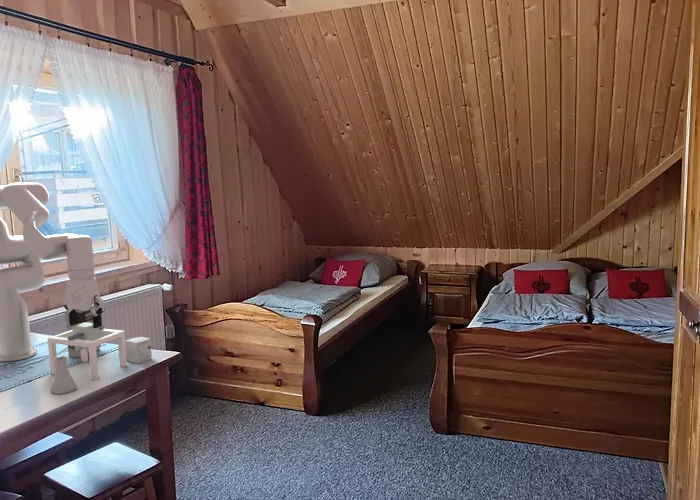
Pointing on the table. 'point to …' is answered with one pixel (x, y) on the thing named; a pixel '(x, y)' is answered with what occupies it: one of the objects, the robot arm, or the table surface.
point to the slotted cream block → (86, 334)
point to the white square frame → (90, 344)
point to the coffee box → (83, 317)
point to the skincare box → (138, 349)
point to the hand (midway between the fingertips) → (85, 325)
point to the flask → (62, 378)
